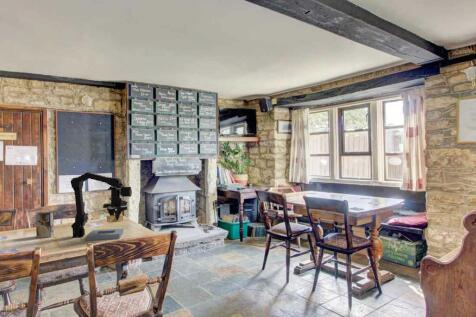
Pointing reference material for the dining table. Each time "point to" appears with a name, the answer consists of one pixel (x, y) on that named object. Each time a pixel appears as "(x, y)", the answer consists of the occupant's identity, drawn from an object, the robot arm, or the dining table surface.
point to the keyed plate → (104, 234)
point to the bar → (114, 218)
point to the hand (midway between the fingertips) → (114, 219)
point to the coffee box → (44, 224)
